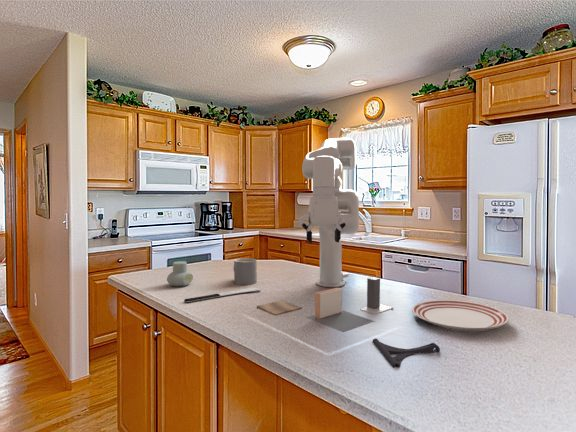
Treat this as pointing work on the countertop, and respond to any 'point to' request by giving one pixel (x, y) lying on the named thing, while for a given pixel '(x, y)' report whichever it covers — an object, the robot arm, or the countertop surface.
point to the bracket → (402, 351)
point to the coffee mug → (245, 271)
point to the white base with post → (374, 297)
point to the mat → (343, 321)
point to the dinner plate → (460, 315)
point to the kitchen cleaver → (219, 295)
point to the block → (328, 303)
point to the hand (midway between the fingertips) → (323, 242)
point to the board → (279, 307)
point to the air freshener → (180, 274)
